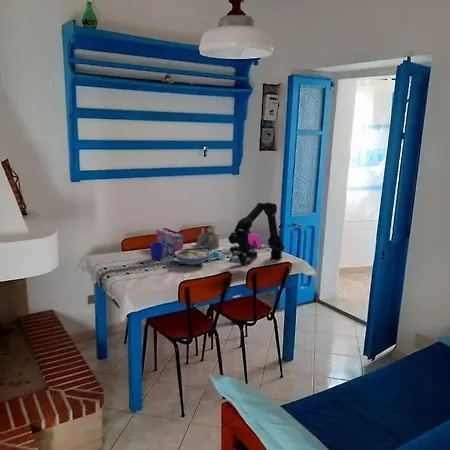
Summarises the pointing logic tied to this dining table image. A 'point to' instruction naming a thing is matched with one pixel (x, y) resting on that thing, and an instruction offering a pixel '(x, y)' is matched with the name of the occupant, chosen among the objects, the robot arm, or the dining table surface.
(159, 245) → the mug
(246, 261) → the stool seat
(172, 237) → the gum box
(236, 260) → the folding leg
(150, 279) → the dining table surface
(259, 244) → the magenta blocky figure
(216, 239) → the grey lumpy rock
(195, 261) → the ramen bowl
